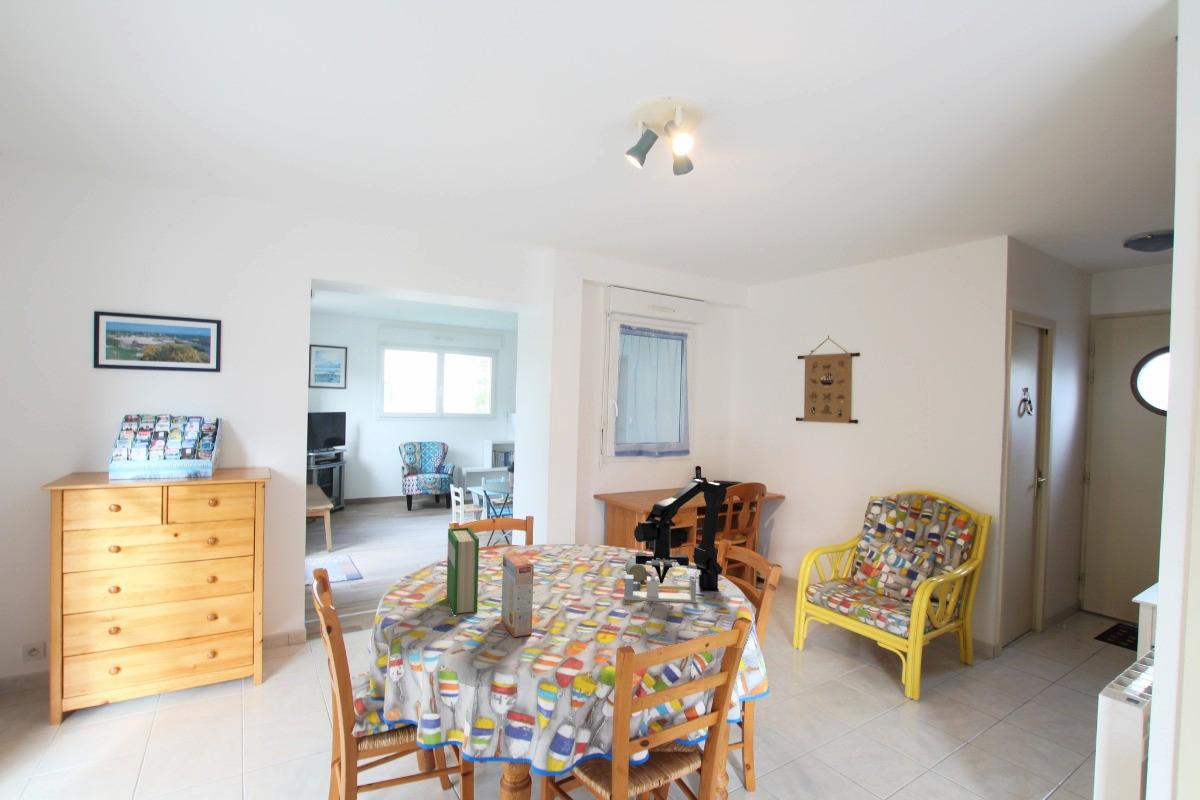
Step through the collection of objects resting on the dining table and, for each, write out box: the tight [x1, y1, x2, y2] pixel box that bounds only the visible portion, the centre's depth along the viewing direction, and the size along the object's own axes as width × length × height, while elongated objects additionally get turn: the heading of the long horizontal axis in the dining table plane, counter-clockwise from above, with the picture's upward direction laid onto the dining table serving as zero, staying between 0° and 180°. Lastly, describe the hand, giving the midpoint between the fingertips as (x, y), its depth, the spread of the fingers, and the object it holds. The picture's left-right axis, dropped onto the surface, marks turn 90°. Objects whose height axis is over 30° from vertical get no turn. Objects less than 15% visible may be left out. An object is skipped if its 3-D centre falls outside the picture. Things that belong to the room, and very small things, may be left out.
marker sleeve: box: [646, 576, 660, 597], centre depth 192 cm, size 4×5×6 cm
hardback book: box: [446, 526, 480, 616], centre depth 181 cm, size 18×7×24 cm, turn 23°
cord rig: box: [624, 574, 697, 603], centre depth 192 cm, size 25×7×7 cm, turn 87°
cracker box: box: [500, 552, 535, 638], centre depth 164 cm, size 14×6×21 cm, turn 25°
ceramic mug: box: [624, 557, 654, 583], centre depth 211 cm, size 11×8×8 cm
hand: (661, 583), depth 192 cm, fingers closed
